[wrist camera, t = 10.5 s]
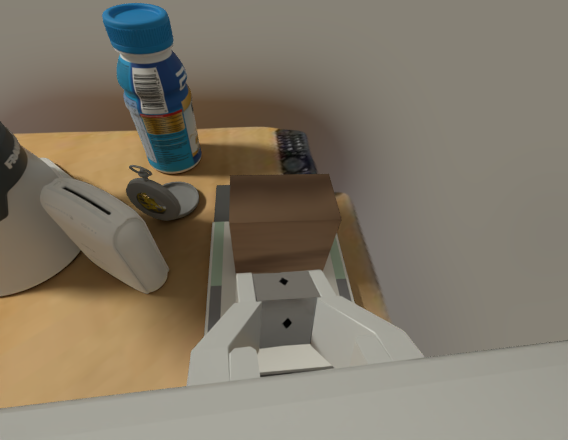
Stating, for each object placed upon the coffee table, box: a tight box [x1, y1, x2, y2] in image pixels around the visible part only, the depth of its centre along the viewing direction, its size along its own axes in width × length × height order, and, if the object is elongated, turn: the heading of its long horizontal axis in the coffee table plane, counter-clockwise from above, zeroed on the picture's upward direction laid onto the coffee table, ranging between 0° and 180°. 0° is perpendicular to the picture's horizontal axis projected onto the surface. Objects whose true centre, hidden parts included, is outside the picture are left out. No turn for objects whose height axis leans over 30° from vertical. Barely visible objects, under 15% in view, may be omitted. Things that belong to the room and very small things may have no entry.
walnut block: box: [229, 174, 341, 273], centre depth 31 cm, size 6×10×10 cm, turn 95°
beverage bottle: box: [102, 3, 201, 174], centre depth 39 cm, size 8×8×20 cm
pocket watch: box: [126, 165, 199, 221], centre depth 36 cm, size 8×8×10 cm
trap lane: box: [204, 185, 355, 377], centre depth 33 cm, size 34×16×2 cm, turn 5°
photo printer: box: [40, 178, 169, 294], centre depth 30 cm, size 10×4×12 cm, turn 61°
